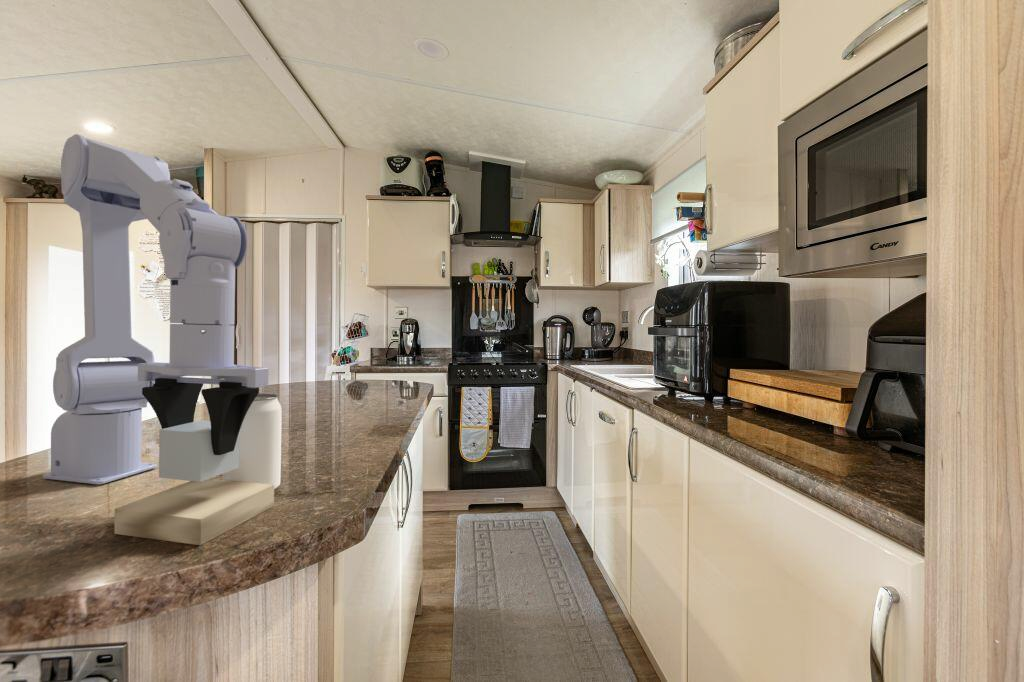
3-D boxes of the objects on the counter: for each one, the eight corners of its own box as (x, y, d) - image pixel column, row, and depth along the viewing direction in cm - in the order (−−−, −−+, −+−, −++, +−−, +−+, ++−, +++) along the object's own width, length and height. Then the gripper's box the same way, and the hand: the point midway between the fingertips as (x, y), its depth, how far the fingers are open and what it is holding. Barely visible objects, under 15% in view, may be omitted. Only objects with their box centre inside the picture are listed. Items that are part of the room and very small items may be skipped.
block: (159, 477, 47) (159, 429, 47) (200, 463, 52) (200, 420, 52) (200, 482, 46) (200, 432, 46) (238, 467, 51) (239, 423, 51)
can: (254, 501, 54) (256, 401, 54) (209, 495, 56) (210, 398, 55) (291, 483, 61) (293, 394, 60) (249, 479, 62) (251, 391, 62)
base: (114, 533, 45) (114, 508, 45) (200, 497, 55) (201, 477, 55) (200, 545, 43) (200, 519, 43) (273, 505, 53) (274, 484, 53)
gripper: (108, 322, 46) (107, 455, 46) (232, 325, 43) (230, 466, 44) (172, 323, 53) (171, 439, 53) (282, 326, 50) (280, 448, 51)
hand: (201, 450), depth 49 cm, fingers closed on block, 5 cm apart
